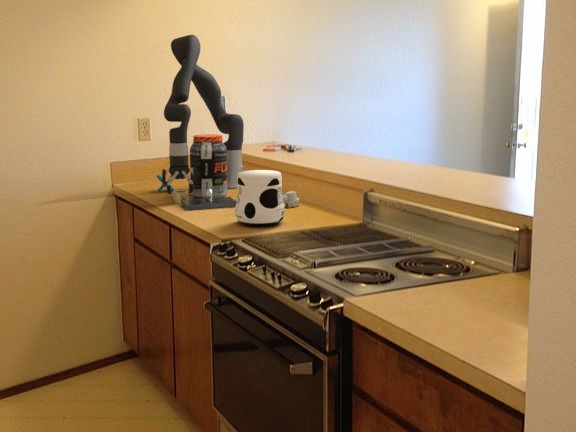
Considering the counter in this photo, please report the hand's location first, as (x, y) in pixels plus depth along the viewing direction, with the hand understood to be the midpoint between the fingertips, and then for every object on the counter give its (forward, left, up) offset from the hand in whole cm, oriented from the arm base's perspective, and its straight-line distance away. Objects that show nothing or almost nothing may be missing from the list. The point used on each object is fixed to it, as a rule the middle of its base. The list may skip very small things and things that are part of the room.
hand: (179, 193), depth 288 cm
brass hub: (0, 0, -4) cm, 4 cm away
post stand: (-9, +11, -4) cm, 15 cm away
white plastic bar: (-30, +26, -4) cm, 40 cm away
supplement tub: (-15, -11, -4) cm, 19 cm away
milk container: (-18, +49, -4) cm, 53 cm away
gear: (0, -29, -4) cm, 29 cm away
